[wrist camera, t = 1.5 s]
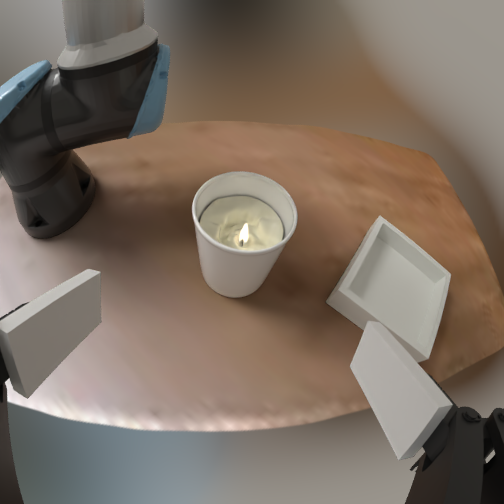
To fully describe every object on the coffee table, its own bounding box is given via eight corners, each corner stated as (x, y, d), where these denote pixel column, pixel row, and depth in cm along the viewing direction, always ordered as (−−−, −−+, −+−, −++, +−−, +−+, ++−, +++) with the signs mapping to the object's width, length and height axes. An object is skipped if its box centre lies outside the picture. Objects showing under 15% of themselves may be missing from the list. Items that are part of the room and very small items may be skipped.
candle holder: (285, 282, 35) (318, 228, 25) (218, 317, 31) (224, 271, 21) (246, 226, 39) (261, 161, 29) (182, 253, 35) (175, 188, 25)
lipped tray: (325, 302, 34) (337, 289, 31) (368, 230, 42) (379, 215, 39) (410, 365, 31) (428, 358, 27) (436, 285, 39) (451, 274, 35)
